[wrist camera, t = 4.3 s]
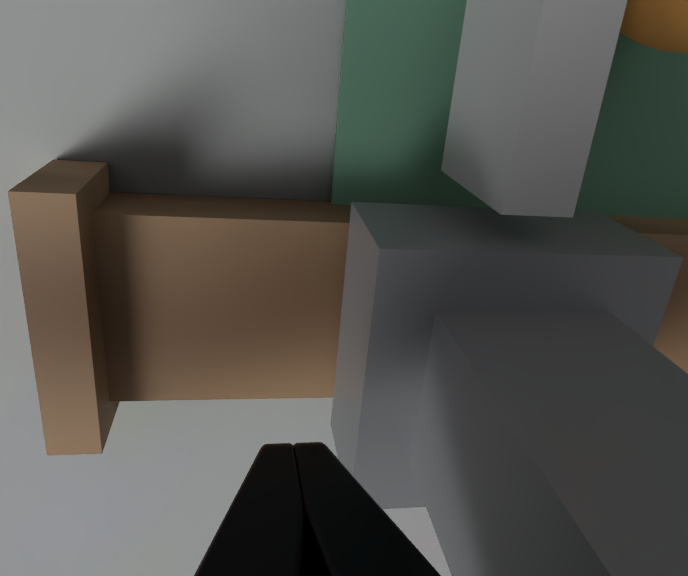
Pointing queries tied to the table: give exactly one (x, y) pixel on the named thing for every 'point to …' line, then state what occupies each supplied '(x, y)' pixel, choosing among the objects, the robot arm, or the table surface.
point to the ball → (657, 24)
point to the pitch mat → (435, 102)
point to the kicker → (518, 327)
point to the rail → (197, 296)
